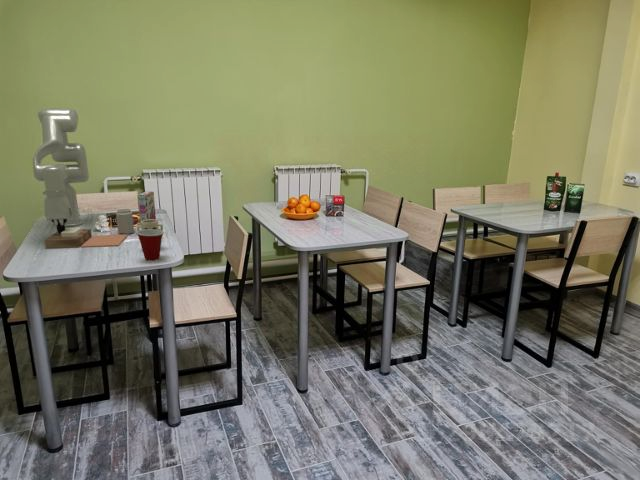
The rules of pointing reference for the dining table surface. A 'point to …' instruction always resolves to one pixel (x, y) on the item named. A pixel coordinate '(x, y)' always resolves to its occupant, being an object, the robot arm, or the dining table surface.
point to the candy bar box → (146, 206)
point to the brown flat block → (68, 240)
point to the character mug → (150, 224)
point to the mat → (105, 240)
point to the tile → (71, 232)
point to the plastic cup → (150, 243)
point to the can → (125, 221)
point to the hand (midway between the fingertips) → (61, 232)
